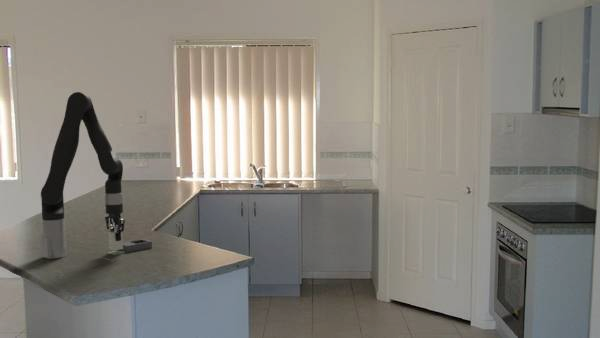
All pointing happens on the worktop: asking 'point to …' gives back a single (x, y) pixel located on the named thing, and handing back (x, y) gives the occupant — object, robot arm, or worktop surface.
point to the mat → (116, 252)
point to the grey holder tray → (136, 245)
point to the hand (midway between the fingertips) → (115, 239)
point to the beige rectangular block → (113, 243)
